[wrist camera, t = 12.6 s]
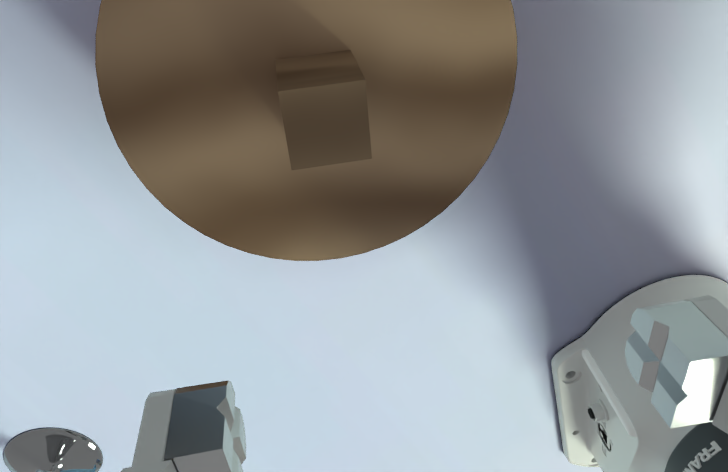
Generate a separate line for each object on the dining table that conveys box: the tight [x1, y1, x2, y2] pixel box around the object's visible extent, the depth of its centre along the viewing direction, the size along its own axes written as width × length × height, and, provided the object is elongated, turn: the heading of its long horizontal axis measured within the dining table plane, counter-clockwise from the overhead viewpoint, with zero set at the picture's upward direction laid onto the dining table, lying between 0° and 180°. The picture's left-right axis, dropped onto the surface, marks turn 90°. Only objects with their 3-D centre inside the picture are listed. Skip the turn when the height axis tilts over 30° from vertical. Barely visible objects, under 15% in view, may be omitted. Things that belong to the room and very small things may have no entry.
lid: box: [95, 0, 517, 261], centre depth 24 cm, size 18×18×5 cm
